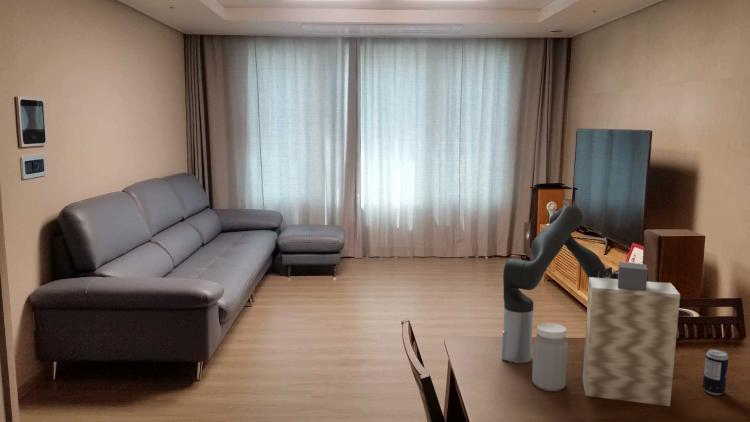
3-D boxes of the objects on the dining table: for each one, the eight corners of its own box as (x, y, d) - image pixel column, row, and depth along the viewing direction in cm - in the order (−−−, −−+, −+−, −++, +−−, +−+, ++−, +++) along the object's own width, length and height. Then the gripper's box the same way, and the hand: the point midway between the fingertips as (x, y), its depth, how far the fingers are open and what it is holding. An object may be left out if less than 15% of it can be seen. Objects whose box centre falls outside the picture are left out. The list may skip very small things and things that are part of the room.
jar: (524, 381, 172) (527, 324, 169) (550, 375, 176) (553, 319, 173) (546, 395, 164) (549, 335, 161) (573, 389, 167) (576, 330, 164)
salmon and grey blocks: (645, 291, 155) (647, 269, 154) (618, 288, 158) (619, 267, 157) (641, 272, 174) (642, 253, 173) (616, 270, 176) (617, 251, 175)
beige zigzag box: (585, 395, 163) (592, 287, 158) (582, 378, 174) (589, 277, 169) (669, 406, 157) (680, 294, 152) (661, 388, 168) (671, 283, 163)
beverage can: (727, 397, 163) (732, 357, 161) (706, 395, 164) (710, 355, 162) (720, 388, 168) (724, 349, 166) (699, 386, 169) (703, 347, 167)
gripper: (594, 271, 190) (600, 257, 176) (641, 275, 186) (651, 260, 172) (594, 293, 188) (600, 281, 173) (641, 297, 184) (652, 285, 169)
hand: (625, 271), depth 172 cm, fingers open, 8 cm apart
